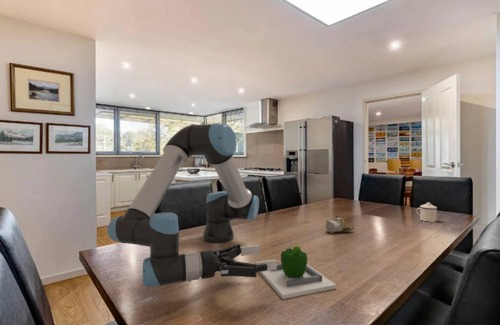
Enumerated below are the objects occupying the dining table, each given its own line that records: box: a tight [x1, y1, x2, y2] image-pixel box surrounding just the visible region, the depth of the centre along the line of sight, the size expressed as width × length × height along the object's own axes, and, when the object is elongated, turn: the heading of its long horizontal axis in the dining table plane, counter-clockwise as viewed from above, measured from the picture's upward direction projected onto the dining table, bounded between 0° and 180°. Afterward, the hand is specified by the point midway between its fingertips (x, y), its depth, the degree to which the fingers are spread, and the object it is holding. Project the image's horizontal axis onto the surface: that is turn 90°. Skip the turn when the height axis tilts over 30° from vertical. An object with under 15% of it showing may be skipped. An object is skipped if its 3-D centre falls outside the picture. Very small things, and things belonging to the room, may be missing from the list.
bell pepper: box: [280, 245, 308, 278], centre depth 86 cm, size 8×8×10 cm
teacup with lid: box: [416, 201, 438, 223], centre depth 167 cm, size 12×9×12 cm
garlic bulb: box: [325, 215, 355, 234], centre depth 142 cm, size 11×9×15 cm
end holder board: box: [258, 263, 337, 300], centre depth 86 cm, size 20×18×3 cm
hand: (267, 256), depth 83 cm, fingers open, 13 cm apart
